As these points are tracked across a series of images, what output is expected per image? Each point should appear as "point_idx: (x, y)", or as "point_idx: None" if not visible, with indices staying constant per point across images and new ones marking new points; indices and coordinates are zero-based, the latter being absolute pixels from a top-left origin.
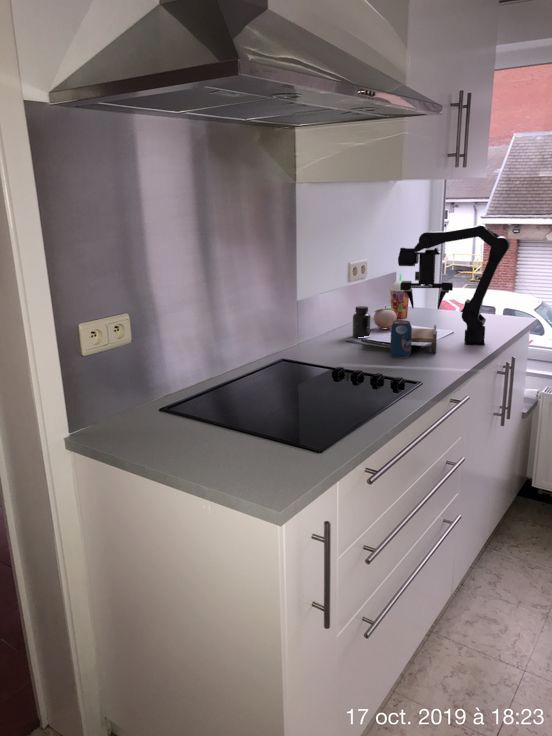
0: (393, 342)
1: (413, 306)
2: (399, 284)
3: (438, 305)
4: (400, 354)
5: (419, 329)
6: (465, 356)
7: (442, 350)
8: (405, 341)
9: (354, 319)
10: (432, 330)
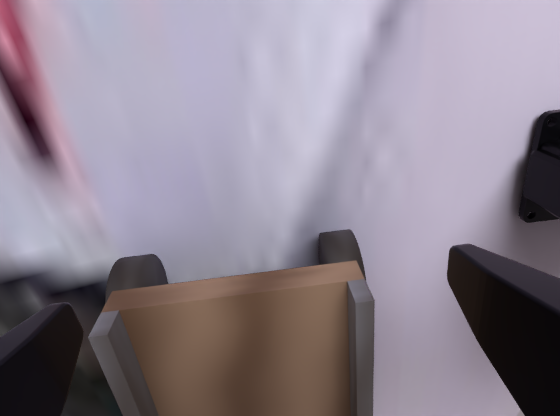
0: None
1: (68, 355)
2: None
3: (486, 337)
4: None
5: (241, 327)
6: (470, 396)
7: (378, 342)
8: None
9: None
10: (339, 332)
